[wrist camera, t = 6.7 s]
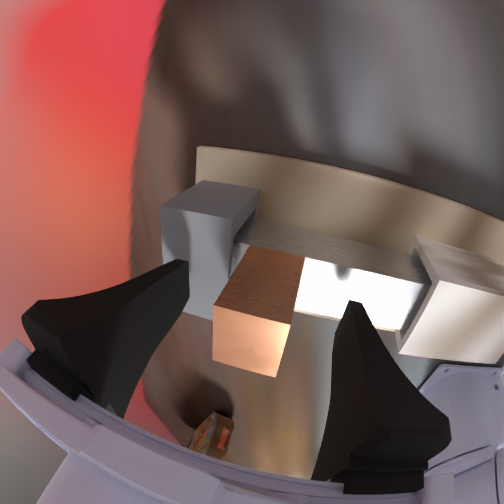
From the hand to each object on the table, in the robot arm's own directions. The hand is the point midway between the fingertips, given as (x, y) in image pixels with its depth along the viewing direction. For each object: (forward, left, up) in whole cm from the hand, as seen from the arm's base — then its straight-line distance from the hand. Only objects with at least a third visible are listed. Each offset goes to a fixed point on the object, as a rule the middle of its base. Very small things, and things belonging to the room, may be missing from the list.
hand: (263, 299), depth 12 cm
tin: (+4, +30, -6) cm, 31 cm away
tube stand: (-5, 0, -6) cm, 8 cm away
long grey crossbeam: (-3, 0, -5) cm, 6 cm away
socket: (+4, 0, -6) cm, 7 cm away
